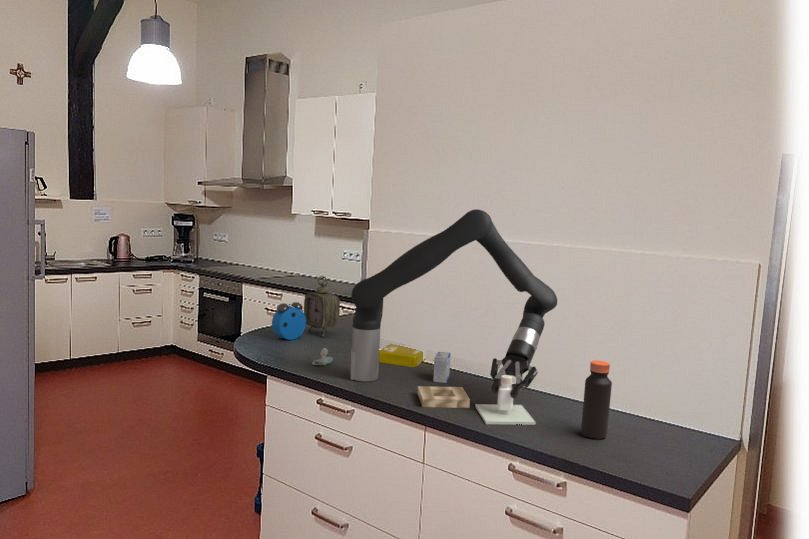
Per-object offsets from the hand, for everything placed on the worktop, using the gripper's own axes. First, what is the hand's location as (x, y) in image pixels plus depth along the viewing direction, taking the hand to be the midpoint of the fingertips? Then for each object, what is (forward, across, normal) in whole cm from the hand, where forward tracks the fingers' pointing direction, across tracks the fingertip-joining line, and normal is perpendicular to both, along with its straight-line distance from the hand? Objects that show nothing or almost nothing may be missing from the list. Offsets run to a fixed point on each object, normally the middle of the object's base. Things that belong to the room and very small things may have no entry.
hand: (503, 394), depth 181 cm
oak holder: (+4, -20, +5) cm, 21 cm away
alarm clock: (-12, -107, +22) cm, 110 cm away
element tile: (-16, -56, +27) cm, 64 cm away
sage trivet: (+4, 0, +6) cm, 7 cm away
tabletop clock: (-23, -104, +33) cm, 111 cm away
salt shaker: (+2, 0, +5) cm, 5 cm away
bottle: (+2, +25, +8) cm, 26 cm away
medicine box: (-9, -32, +19) cm, 38 cm away
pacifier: (+1, -73, +9) cm, 74 cm away
